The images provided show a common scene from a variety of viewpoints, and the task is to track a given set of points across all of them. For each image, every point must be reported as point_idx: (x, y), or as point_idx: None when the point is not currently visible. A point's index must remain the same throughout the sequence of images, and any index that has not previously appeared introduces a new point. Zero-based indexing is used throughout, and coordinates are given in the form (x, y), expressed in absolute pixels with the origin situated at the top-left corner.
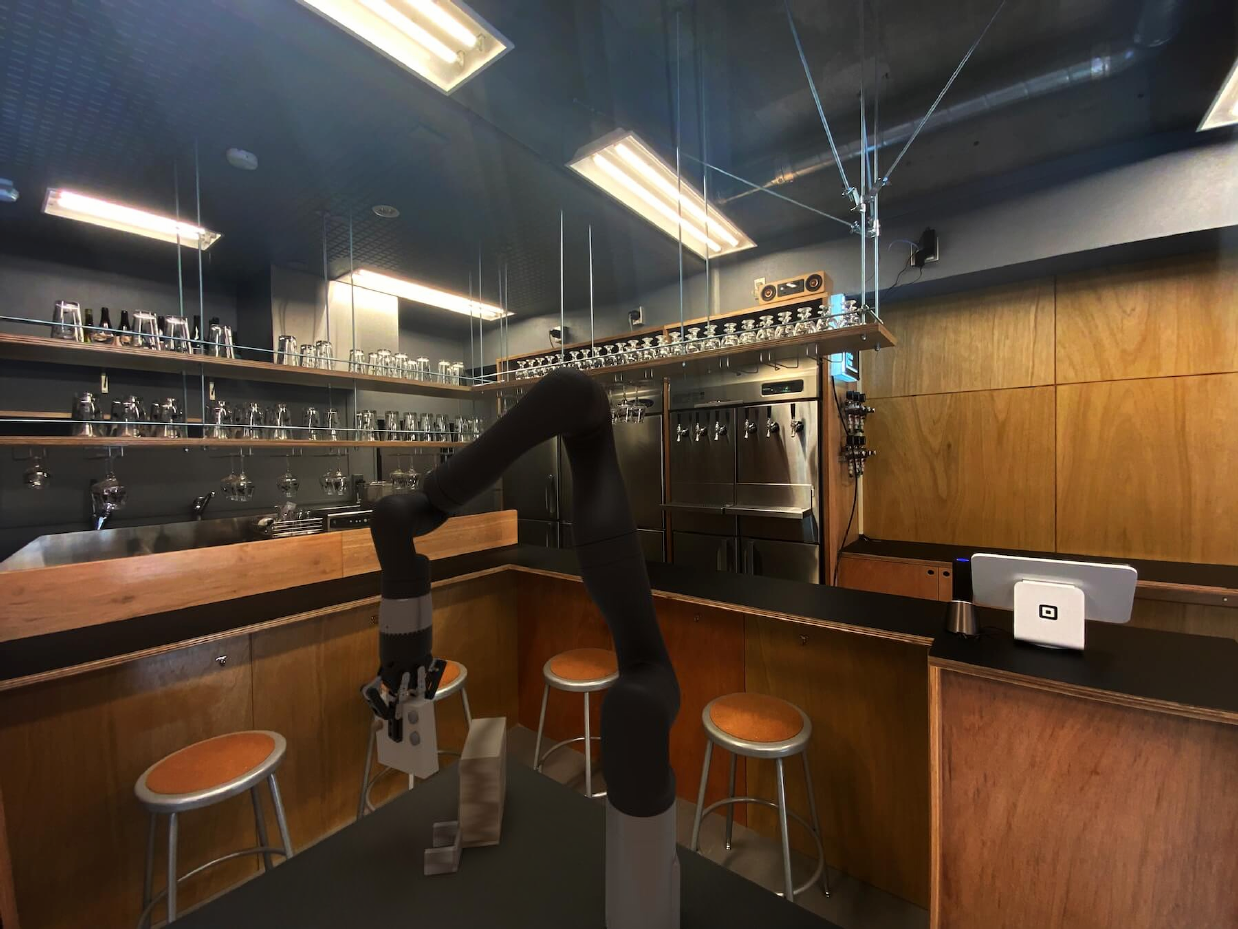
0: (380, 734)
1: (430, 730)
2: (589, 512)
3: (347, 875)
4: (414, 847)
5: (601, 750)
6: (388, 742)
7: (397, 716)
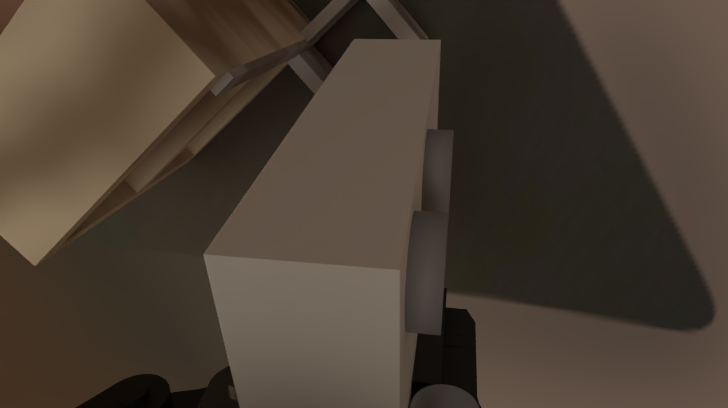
0: None
1: (337, 126)
2: None
3: (526, 203)
4: None
5: None
6: None
7: (458, 406)
